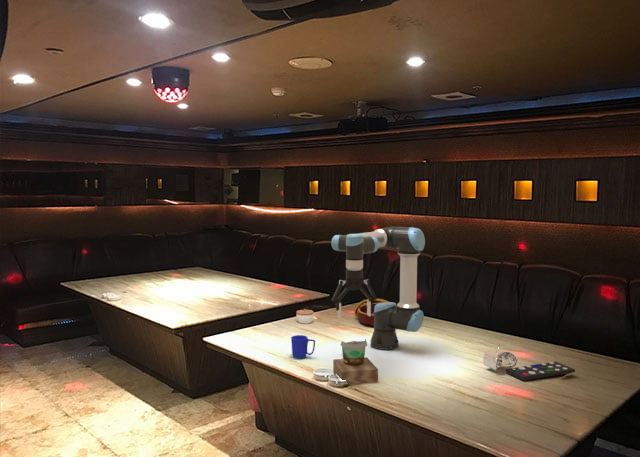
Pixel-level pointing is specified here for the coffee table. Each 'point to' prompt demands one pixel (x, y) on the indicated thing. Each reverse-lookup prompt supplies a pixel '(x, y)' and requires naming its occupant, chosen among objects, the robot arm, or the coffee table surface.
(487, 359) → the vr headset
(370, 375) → the walnut riser
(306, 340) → the mug
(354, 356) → the food container
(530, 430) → the coffee table surface
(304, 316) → the lidded jar
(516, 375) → the remote control
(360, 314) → the decorative basket
